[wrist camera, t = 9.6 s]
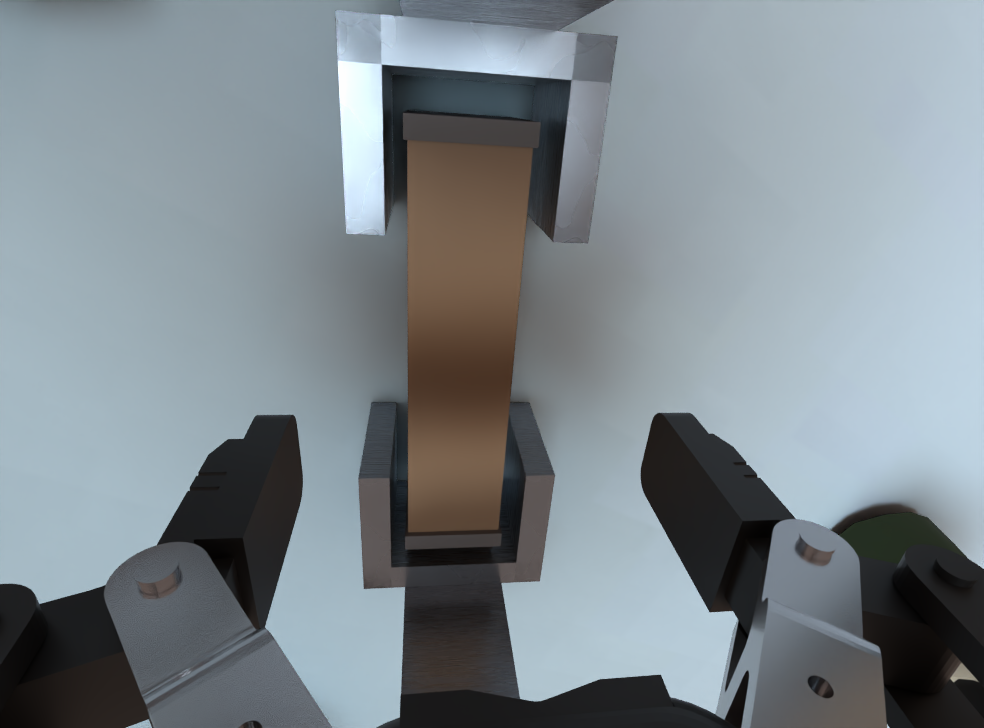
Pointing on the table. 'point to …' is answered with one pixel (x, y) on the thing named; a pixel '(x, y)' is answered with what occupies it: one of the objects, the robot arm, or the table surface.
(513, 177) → the walnut rail
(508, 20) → the ball knob clevis bracket
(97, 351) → the table surface
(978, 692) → the character mug
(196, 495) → the robot arm
